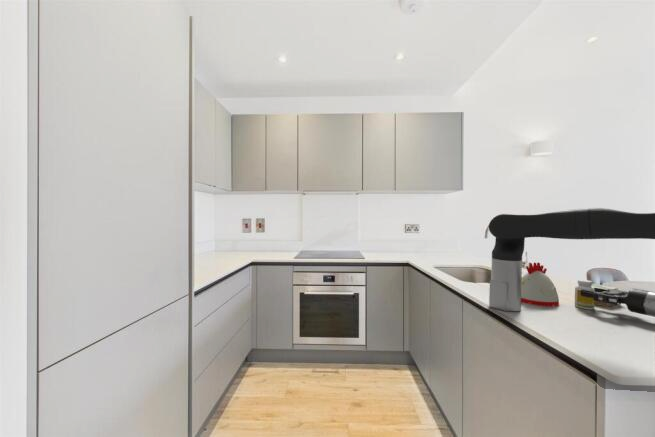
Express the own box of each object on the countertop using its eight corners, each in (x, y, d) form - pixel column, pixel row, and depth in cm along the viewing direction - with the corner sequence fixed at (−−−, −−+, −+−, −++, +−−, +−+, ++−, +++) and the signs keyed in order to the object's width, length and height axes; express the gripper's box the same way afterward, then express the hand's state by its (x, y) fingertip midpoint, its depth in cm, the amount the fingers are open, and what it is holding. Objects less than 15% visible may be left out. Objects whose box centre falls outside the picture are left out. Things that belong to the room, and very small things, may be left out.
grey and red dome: (506, 296, 121) (507, 259, 121) (537, 296, 122) (538, 260, 122) (534, 306, 107) (534, 265, 107) (568, 306, 109) (569, 265, 108)
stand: (607, 306, 109) (607, 290, 109) (577, 300, 117) (578, 285, 117) (618, 304, 112) (619, 288, 112) (589, 298, 121) (589, 283, 121)
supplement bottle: (598, 310, 104) (598, 282, 104) (580, 309, 105) (581, 281, 105) (588, 305, 109) (588, 279, 109) (571, 304, 111) (571, 278, 110)
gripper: (661, 289, 95) (597, 279, 110) (641, 293, 89) (577, 282, 103) (660, 313, 95) (597, 299, 110) (640, 318, 89) (576, 303, 104)
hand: (587, 291), depth 107 cm, fingers open, 8 cm apart
